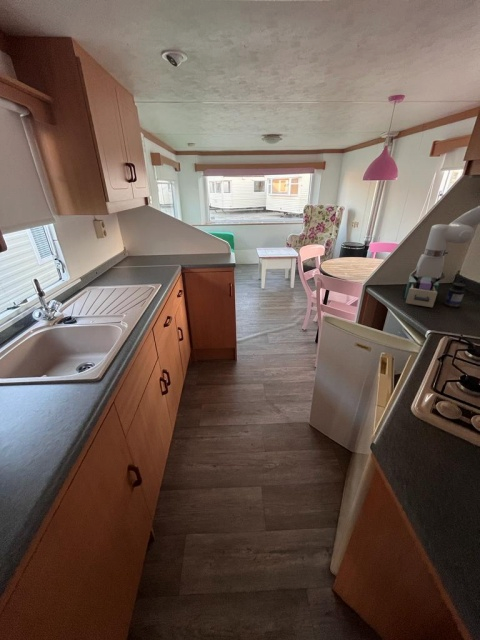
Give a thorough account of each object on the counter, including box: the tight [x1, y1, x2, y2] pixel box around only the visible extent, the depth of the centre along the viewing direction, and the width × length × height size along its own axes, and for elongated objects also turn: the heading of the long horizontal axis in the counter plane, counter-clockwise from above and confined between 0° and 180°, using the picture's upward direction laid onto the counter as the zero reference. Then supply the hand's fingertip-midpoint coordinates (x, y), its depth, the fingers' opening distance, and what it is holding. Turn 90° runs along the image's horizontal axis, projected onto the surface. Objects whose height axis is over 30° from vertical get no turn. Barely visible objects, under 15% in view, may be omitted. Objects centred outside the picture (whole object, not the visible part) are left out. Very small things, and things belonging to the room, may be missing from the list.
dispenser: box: [404, 274, 440, 300], centre depth 141 cm, size 15×13×10 cm
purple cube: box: [419, 280, 432, 291], centre depth 130 cm, size 4×4×4 cm
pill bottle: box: [444, 282, 466, 308], centre depth 129 cm, size 6×6×11 cm
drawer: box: [405, 283, 439, 308], centre depth 132 cm, size 18×11×8 cm, turn 149°
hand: (423, 289), depth 131 cm, fingers closed on purple cube, 4 cm apart
